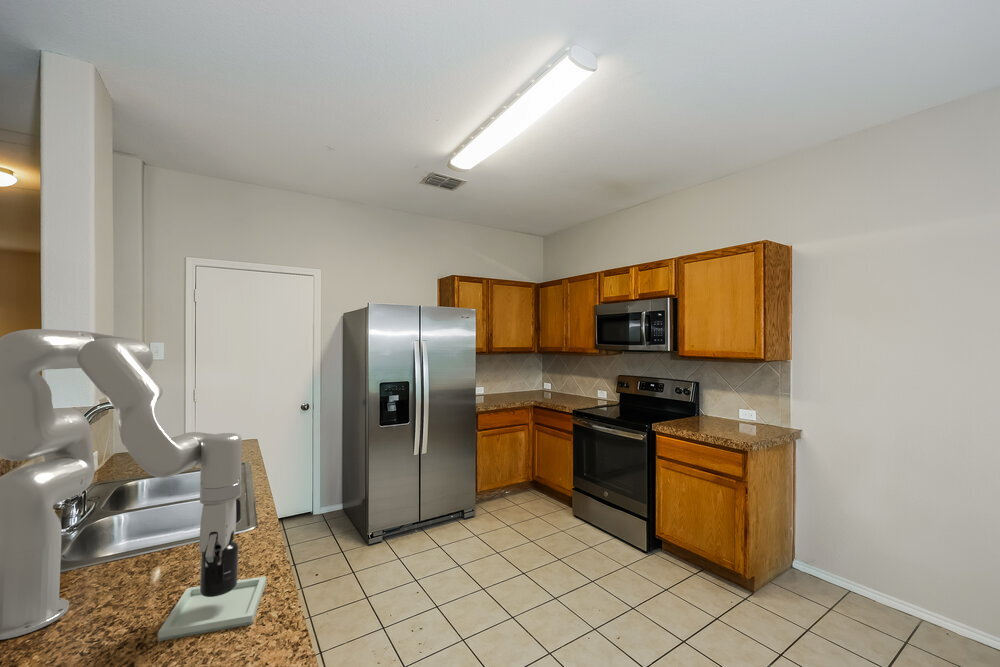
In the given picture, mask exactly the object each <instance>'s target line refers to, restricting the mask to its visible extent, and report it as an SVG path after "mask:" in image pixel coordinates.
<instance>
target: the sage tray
mask: <svg viewBox="0 0 1000 667" xmlns="http://www.w3.org/2000/svg"><path fill="white" fill-rule="evenodd" d="M266 585H267V575H265V576H259V577H251V578H245V579H244V578H243V579H237V585H236V586H235V588H234V589H233V590H231V591H230V592H228V593H226V594H223V595H220V596H216V597H205V596H203V595H201V593H200V585H197V586H192V587H187V588H186V589H185V591H184V592H183V594H182V595H181V597H180V598H179V600H178V602H177V603H176V604H175V606H174V607H173V609H172V610H171V611H170V613H169V615H168V616H167V618H166V620H165V621H164V622H163V624H162V625H161V627H160V628H159V630H158V631H157V642H163V641H169V640H173V639H178V638H186V637H190V636H195V635H201V634H208V633H211V632H218V631H224V630H229V629H234V628H238V627H244V626H245V627H246V626H251V625H253V624H254V621H255V617H256V614H257V611H258V608H259V605H260V603H261V599H262V596H263V594H264V590H265V588H266Z"/></svg>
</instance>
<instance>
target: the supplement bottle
mask: <svg viewBox="0 0 1000 667" xmlns="http://www.w3.org/2000/svg"><path fill="white" fill-rule="evenodd" d="M234 540H235V534H234V531H233V532H232V533H231V537H230V541H229V545H228V546H227V548H225V549H224V550H223V558H222V563H224V577H223V582H222V583H221V584H216V585H210V586H205V563H206V557H205V556H206V551H207V549H206V551H205V552H203V553H200V554H201V556H200V574H199V575H200V576H199V577H200V580H199V586H200V593H201V595H203V596H205V597H216V596H220V595H223V594H226V593H228V592H230V591H231V590H233V589H234V588H235V586H236V585H237V580H238V576H239V574H238V573H239V572H238V570H239V550H240V549H239V544H238V543H237V542H236V541H234ZM220 548H221V546H216V548H215V549H220ZM216 555H217V557H219V552H217V553H215V556H216Z"/></svg>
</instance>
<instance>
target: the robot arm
mask: <svg viewBox="0 0 1000 667" xmlns="http://www.w3.org/2000/svg"><path fill="white" fill-rule="evenodd" d="M153 361H154V354H153V351H152V350H151V347H149V345H148V344H146V343H145V342H144V341H142V340H140V339H136V338H132V337H131V338H130V337H122V336H117V335H112V334H111V335H110V334H103V333H99V332H90V331H82V330H70V329H68V330H65V329H61V330H60V329H52V328H51V329H50V328H49V329H48V328H46V329H45V328H36V329H35V328H29V329H21V330H16V331H12V332H9V333H6V334H5V335H2V336H0V458H2V459H3V460H6V461H10V462H18V461H19V462H20V461H25V460H31V459H35V458H38V457H43V459H44V461H41V462H36V463H33V464H30V465H25V466H23V467H19V468H16V469H14V470H12V471H9V472H7V473H5V474H4V475H2V476H1V477H0V641H2V640H9V639H12V638H17V637H20V636H24V635H26V634H29V633H32V632H35V631H37V630H40V629H42V628H44V627H47V626H48V625H50V624H53V623H54V622H56V621H58V620H59V619H60V618H62V617H63V616H64V615H65V614H66V613H68V611H69V609H70V601H69V600H68V599H65V598H62V597H60V591H61V590H60V587H61V586H60V585H61V564H62V563H61V560H62V556H61V555H62V533H63V532H62V522H61V520H60V518H59V516H58V514H57V513H56V511H55V510H54V506H55V505H57V504H59V503H61V502H63V501H66V500H68V499H71V498H73V497H76V496H78V495H79V494H81V493H83V492H84V491H86V490H87V489H88V488H89V487H90V486H91V485H92V483H93V481H94V476H95V458H94V457H95V456H94V447H93V446H94V445H93V437H92V436H93V435H92V429H91V425H90V423H89V421H88V419H87V417H86V416H85V415H84V414H83V413H81V412H80V411H78V410H77V409H74V408H67V407H60V408H54V406H53V405H54V404H53V399H52V398H53V396H52V391H51V388H50V386H49V383H48V382H47V381H46V380H45V378H44V377H43V376H42V375H41V374H40V372H42V371H45V370H61V369H62V370H64V369H65V370H66V369H81V370H82V372H84V374H85V375H86V376H87V378H89V380H90V381H91V382H92V383H93V385H94V386H95V387H96V388H97V389H98V390H99V391H100V393H101V394H102V395H103V396H104V397H105V398H106V400H107V401H108V402H109V404H110V405H111V406H112V407H113V408H114V410H115V411H116V412H117V414H118V431H119V436H120V441H121V442H122V445H123V448H124V449H125V450H126V451H127V453H128V454H129V455H130V456H131V458H132V459H133V460H134V461H135V462H136V464H138V465H139V467H140V468H141V469H142V470H143V471H144V472H146V474H147V473H148V474H149V475H150V476H152V477H154V478H159V479H167V478H170V477H171V478H172V477H174V476H177V475H178V474H181V473H183V472H186V471H187V470H190V469H193V468H196V467H198V466H200V471H199V472H200V473H199V474H200V477H199V479H200V480H199V481H200V482H199V483H200V484H199V485H200V486H199V503H200V504H202V505H203V506H202V509H201V510H202V511H201V516H200V517H201V518H200V528H199V540H198V552H199V553H200V554H202V553H203V552H205V551H206V549H207V551H206V556H205V557H206V563H205V586H210V585H216V584H221V583H222V582H223V577H224V563H222V558H223V550H224V549H225V548H227V546H228V545H229V541H230V537H231V533H232V532H233V531H234V535H235V534H236V528H237V499H240V497H242V465H243V464H242V463H243V462H242V458H243V457H242V456H243V455H242V454H243V440H242V437H241V435H240V434H238V433H234V432H226V433H225V432H224V433H216V434H215V433H207V432H202V431H201V432H199V431H190V432H186V433H182V434H180V435H176V436H173V437H170V436H169V435H168V434H167V432H165V430H164V429H163V428H162V427H161V425H160V424H159V422H158V421H157V418H156V415H155V407H156V404H157V402H158V400H160V399H161V397H162V395H163V389H162V386H161V385H160V384H159V383H158V381H157V380H156V379H155V378H154V377H153V376H152V375H151V373H149V371H148V369H150V368H151V366H152V364H153ZM216 546H221V548H220V549H215V548H216ZM217 552H219V557H217V555H216V556H215V553H217Z"/></svg>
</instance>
